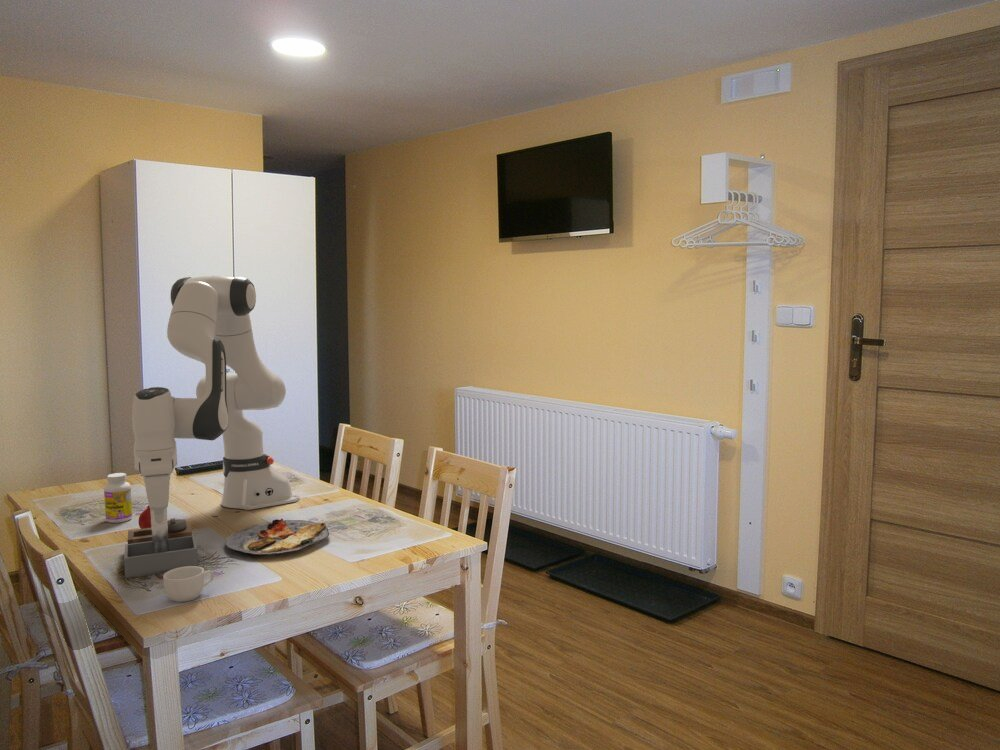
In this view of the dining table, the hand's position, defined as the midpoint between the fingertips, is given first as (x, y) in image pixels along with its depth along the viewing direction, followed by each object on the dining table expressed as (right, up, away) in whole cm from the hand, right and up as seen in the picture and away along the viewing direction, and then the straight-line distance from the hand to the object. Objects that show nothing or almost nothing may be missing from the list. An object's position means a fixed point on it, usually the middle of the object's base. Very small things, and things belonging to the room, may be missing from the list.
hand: (159, 518), depth 173 cm
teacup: (+14, -13, -17) cm, 25 cm away
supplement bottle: (-28, -8, +36) cm, 46 cm away
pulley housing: (-5, -10, +11) cm, 15 cm away
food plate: (+22, -10, +17) cm, 30 cm away
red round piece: (-13, -9, +24) cm, 28 cm away
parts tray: (0, -11, +1) cm, 11 cm away
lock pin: (0, -8, +1) cm, 8 cm away
